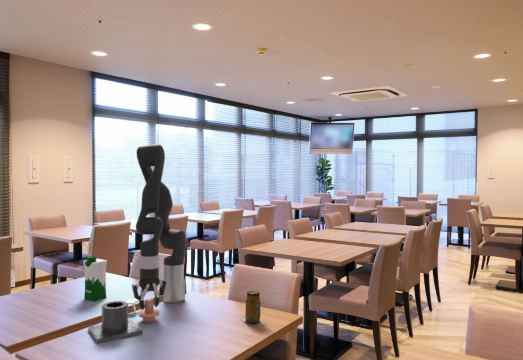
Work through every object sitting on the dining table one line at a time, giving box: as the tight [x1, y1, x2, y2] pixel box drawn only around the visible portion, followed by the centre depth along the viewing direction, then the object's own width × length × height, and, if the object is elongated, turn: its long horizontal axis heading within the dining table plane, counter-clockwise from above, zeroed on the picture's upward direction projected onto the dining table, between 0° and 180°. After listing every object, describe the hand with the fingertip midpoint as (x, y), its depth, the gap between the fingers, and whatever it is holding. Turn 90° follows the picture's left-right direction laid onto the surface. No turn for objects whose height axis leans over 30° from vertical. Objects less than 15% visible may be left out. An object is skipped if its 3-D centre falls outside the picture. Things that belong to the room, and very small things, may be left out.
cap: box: [138, 298, 160, 324], centre depth 172 cm, size 8×8×8 cm
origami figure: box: [124, 298, 145, 315], centre depth 182 cm, size 12×8×5 cm
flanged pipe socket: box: [87, 300, 143, 344], centre depth 159 cm, size 16×14×10 cm
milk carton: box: [82, 255, 108, 302], centre depth 200 cm, size 9×9×20 cm
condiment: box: [240, 290, 267, 327], centre depth 172 cm, size 7×8×12 cm
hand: (149, 307), depth 172 cm, fingers open, 5 cm apart
